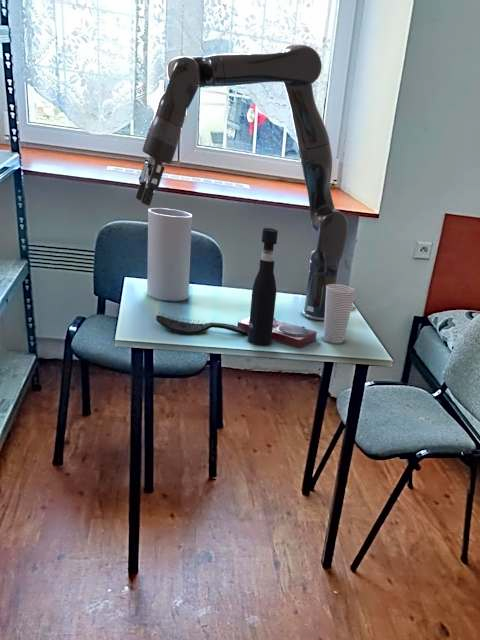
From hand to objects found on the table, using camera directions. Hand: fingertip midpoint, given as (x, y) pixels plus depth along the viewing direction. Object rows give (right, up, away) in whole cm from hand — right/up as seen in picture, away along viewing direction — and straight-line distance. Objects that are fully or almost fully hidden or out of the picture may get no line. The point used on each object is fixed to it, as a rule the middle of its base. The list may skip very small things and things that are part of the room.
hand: (142, 202), depth 173 cm
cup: (+50, -32, +22) cm, 63 cm away
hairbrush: (+14, -32, +10) cm, 36 cm away
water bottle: (+29, -35, +10) cm, 47 cm away
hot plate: (+33, -31, +18) cm, 49 cm away
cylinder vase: (-3, -16, +34) cm, 38 cm away
